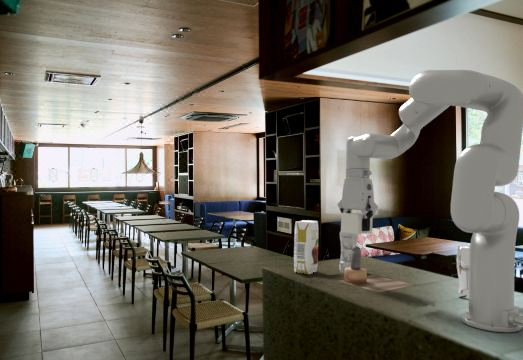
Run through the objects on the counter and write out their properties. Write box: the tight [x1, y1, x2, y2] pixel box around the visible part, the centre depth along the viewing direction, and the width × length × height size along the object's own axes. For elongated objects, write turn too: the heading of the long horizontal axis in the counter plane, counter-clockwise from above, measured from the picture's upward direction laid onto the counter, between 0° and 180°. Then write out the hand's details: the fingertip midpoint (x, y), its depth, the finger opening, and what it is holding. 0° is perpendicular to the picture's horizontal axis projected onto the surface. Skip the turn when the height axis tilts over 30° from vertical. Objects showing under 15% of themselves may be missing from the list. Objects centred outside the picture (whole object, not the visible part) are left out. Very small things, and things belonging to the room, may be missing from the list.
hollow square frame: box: [340, 212, 374, 235], centre depth 139 cm, size 7×7×6 cm
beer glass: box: [456, 245, 470, 301], centre depth 128 cm, size 7×7×15 cm
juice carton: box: [293, 219, 319, 275], centre depth 160 cm, size 8×9×19 cm
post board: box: [337, 245, 415, 293], centre depth 138 cm, size 17×18×13 cm
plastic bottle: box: [338, 230, 359, 274], centre depth 158 cm, size 6×7×20 cm
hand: (356, 229), depth 139 cm, fingers closed on hollow square frame, 7 cm apart
